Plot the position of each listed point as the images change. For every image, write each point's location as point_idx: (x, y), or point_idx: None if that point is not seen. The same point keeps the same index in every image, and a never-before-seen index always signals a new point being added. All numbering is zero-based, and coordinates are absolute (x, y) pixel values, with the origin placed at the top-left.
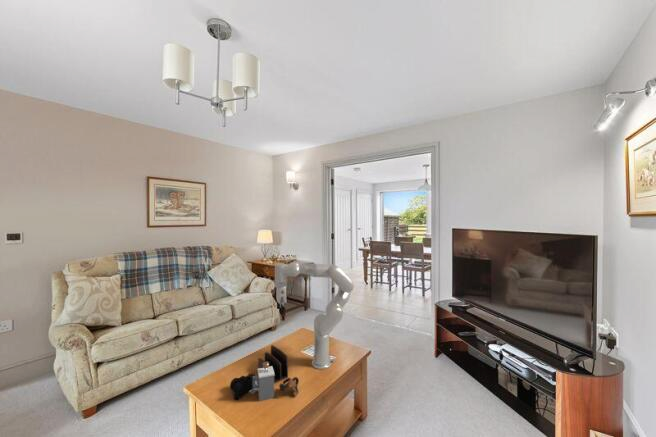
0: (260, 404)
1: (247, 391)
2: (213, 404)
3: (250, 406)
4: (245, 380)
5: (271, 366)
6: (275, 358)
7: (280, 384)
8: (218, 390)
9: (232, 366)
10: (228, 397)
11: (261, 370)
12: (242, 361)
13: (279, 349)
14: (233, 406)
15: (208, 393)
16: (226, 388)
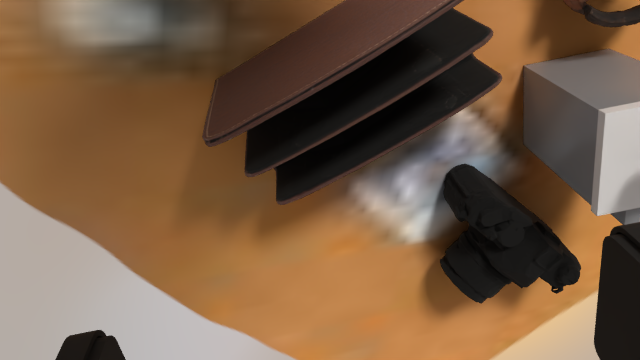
0: None
1: (513, 199)
2: (540, 316)
3: None
4: (555, 245)
5: (608, 119)
6: (419, 86)
7: (602, 18)
8: (440, 322)
9: (217, 312)
10: None
11: (631, 187)
12: (158, 272)
13: (356, 64)
14: (588, 238)
15: (451, 353)
16: (434, 294)
